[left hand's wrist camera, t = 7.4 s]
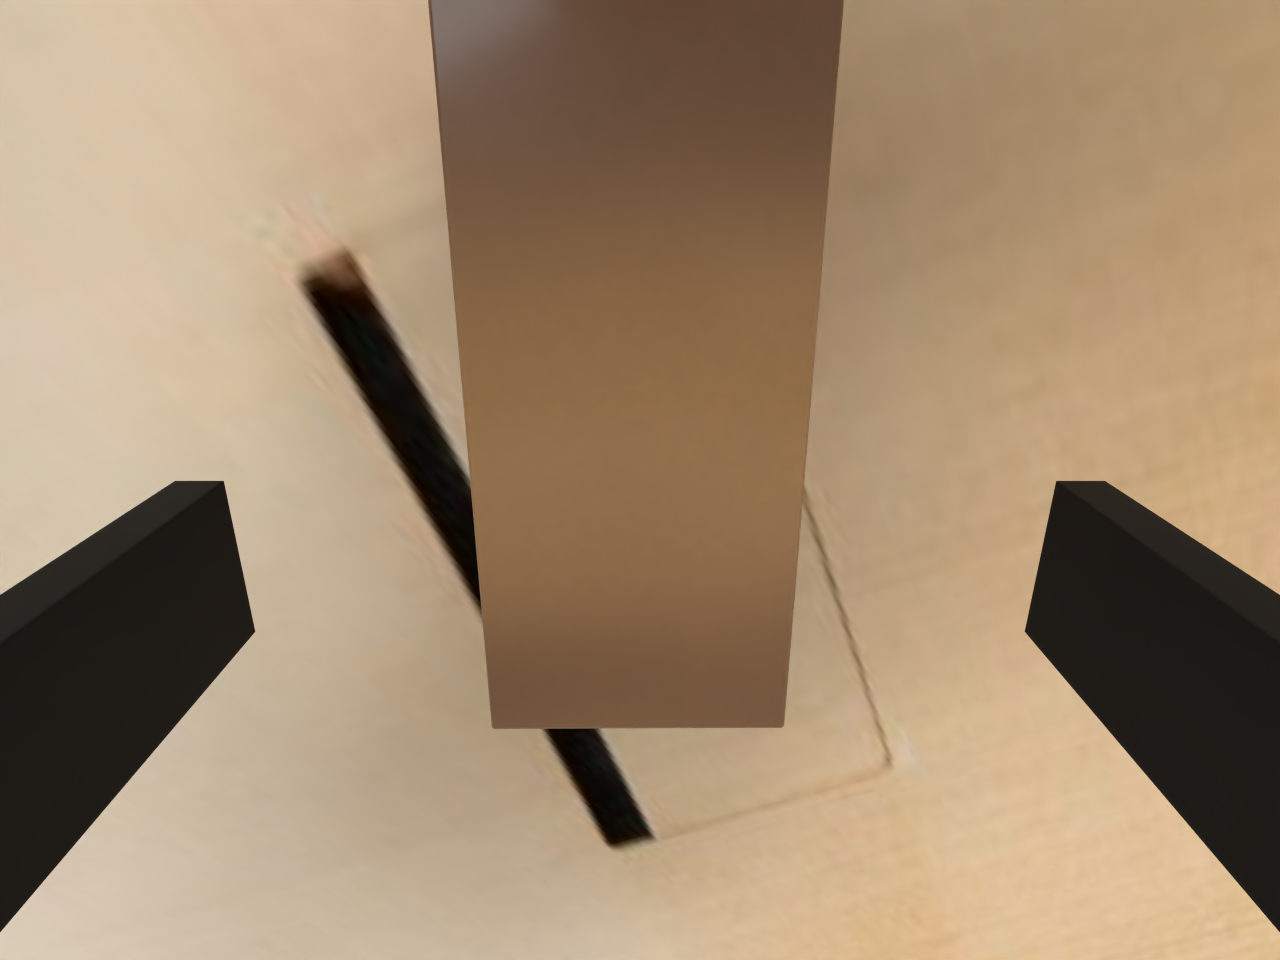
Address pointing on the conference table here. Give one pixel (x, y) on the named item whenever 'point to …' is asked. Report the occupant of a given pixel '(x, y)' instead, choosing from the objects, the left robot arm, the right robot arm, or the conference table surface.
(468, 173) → the bar
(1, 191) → the conference table surface
